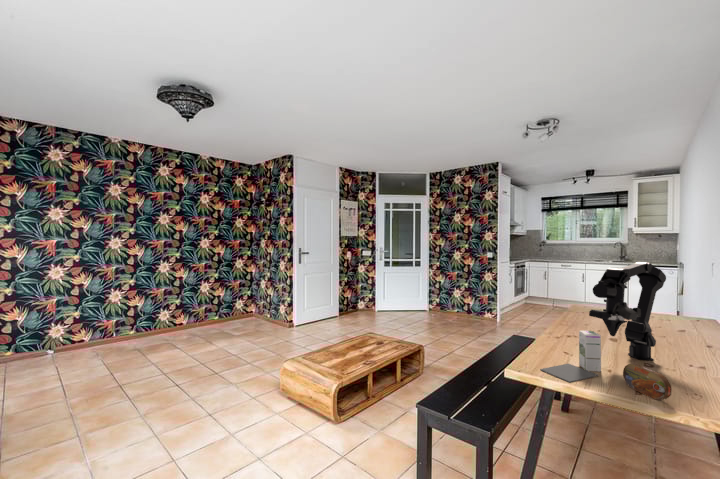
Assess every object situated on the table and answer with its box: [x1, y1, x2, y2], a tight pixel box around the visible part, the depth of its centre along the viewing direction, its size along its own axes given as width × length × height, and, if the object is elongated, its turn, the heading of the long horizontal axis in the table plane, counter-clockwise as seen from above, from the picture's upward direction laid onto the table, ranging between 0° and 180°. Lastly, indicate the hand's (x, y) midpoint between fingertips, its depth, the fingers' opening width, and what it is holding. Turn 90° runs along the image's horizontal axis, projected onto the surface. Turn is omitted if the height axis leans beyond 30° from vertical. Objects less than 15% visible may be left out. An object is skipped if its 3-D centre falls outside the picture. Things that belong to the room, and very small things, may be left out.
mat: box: [539, 363, 600, 383], centre depth 126 cm, size 16×12×1 cm
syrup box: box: [578, 330, 602, 373], centre depth 131 cm, size 6×6×14 cm
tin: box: [622, 363, 672, 401], centre depth 110 cm, size 15×3×8 cm, turn 5°
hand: (612, 336), depth 135 cm, fingers closed
